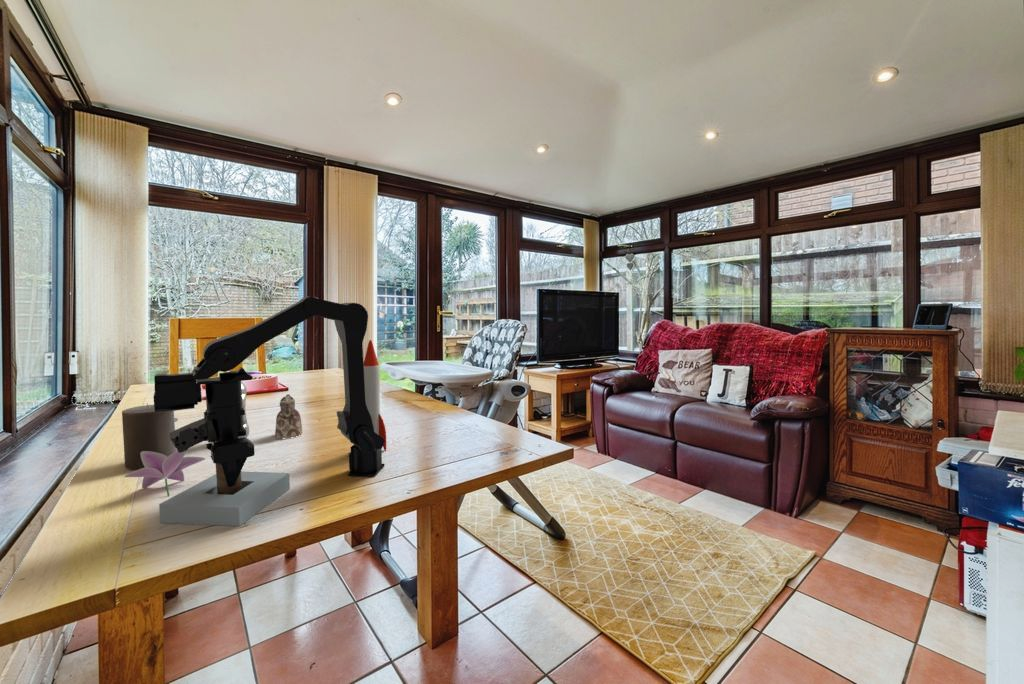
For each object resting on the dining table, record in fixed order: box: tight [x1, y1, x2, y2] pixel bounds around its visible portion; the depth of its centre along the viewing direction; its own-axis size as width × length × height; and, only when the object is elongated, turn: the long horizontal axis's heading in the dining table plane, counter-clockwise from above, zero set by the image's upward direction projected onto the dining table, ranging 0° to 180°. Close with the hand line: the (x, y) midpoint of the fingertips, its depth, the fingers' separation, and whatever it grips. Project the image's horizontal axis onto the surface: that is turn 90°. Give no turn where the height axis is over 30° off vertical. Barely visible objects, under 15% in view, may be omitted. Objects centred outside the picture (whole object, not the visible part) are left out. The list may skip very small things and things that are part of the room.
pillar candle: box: [121, 402, 177, 471], centre depth 103 cm, size 10×10×15 cm
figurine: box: [274, 394, 303, 439], centre depth 124 cm, size 7×7×12 cm
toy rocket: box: [363, 339, 387, 451], centre depth 112 cm, size 6×6×30 cm
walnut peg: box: [215, 463, 242, 495], centre depth 82 cm, size 4×4×9 cm
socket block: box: [158, 470, 291, 527], centre depth 82 cm, size 15×15×4 cm
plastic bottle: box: [224, 370, 250, 439], centre depth 119 cm, size 6×7×20 cm
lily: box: [123, 450, 206, 497], centre depth 88 cm, size 12×12×10 cm
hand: (229, 482), depth 82 cm, fingers closed on walnut peg, 4 cm apart
